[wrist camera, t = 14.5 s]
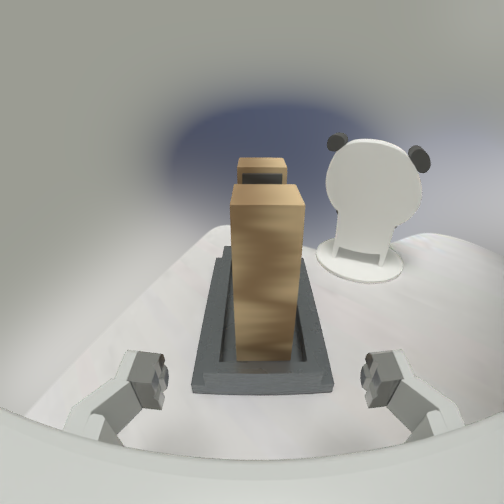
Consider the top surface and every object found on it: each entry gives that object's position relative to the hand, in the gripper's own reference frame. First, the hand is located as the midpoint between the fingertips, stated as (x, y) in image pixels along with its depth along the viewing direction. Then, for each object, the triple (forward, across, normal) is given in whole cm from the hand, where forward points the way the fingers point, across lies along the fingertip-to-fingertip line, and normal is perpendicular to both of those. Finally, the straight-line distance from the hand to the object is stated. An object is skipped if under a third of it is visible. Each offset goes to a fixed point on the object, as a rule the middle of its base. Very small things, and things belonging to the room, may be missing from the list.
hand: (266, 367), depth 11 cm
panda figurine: (+25, -13, +9) cm, 29 cm away
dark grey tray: (+14, 0, +9) cm, 17 cm away
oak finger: (+10, 0, +8) cm, 13 cm away
